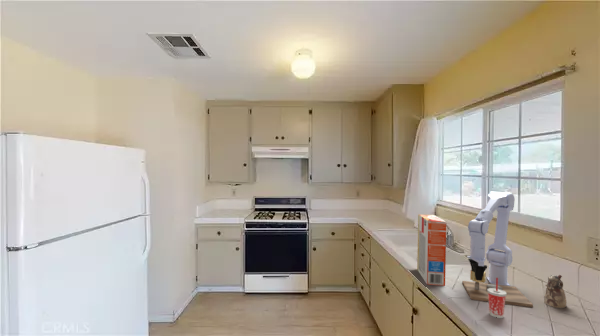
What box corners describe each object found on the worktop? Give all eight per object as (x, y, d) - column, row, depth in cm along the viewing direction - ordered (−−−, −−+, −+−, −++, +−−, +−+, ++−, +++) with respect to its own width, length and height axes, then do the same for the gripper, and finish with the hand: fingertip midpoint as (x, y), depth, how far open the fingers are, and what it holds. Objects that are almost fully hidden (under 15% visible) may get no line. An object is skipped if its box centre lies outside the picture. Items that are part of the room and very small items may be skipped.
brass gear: (469, 277, 143) (469, 268, 143) (483, 279, 142) (483, 270, 142) (471, 281, 138) (472, 272, 138) (486, 283, 136) (487, 274, 136)
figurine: (539, 300, 132) (540, 271, 132) (556, 300, 132) (557, 272, 132) (552, 307, 125) (553, 277, 125) (570, 308, 125) (571, 278, 125)
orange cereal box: (445, 285, 147) (446, 221, 147) (427, 284, 148) (428, 221, 148) (432, 270, 169) (433, 214, 170) (417, 269, 171) (418, 214, 171)
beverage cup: (499, 320, 113) (499, 281, 113) (483, 313, 119) (483, 276, 119) (509, 317, 116) (510, 279, 116) (493, 310, 121) (494, 274, 121)
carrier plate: (462, 283, 151) (462, 273, 151) (515, 289, 144) (515, 279, 144) (471, 299, 132) (471, 288, 132) (532, 307, 125) (533, 295, 125)
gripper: (464, 243, 148) (464, 271, 148) (471, 250, 134) (470, 282, 134) (481, 244, 146) (480, 273, 146) (489, 251, 132) (489, 284, 132)
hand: (477, 277), depth 140 cm, fingers closed on brass gear, 6 cm apart
